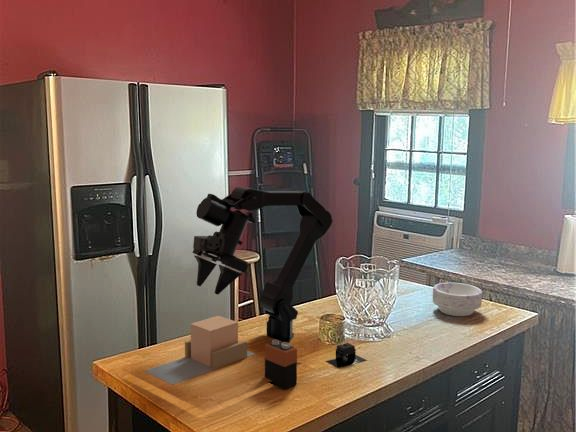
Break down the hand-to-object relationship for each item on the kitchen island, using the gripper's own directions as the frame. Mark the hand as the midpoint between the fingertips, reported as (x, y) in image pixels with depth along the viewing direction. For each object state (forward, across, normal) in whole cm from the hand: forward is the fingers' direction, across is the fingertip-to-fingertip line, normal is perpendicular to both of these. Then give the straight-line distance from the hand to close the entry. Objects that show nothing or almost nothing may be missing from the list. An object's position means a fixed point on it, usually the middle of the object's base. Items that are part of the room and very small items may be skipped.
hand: (207, 289), depth 156 cm
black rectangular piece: (+4, +23, +32) cm, 40 cm away
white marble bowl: (-22, +13, +82) cm, 86 cm away
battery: (+14, +24, +13) cm, 31 cm away
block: (+15, +4, +7) cm, 17 cm away
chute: (+18, +5, +4) cm, 19 cm away
